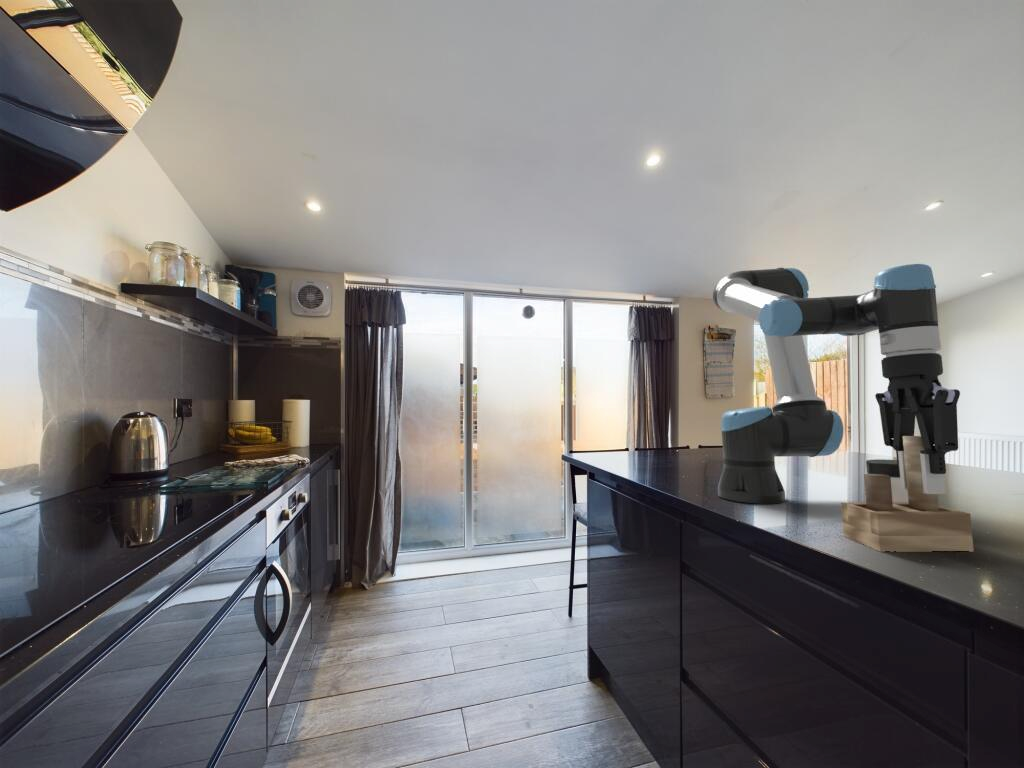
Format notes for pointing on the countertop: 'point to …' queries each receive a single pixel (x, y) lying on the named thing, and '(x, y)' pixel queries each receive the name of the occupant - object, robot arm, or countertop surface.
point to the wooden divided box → (908, 528)
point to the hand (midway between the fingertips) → (922, 490)
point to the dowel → (916, 475)
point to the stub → (878, 492)
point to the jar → (894, 472)
